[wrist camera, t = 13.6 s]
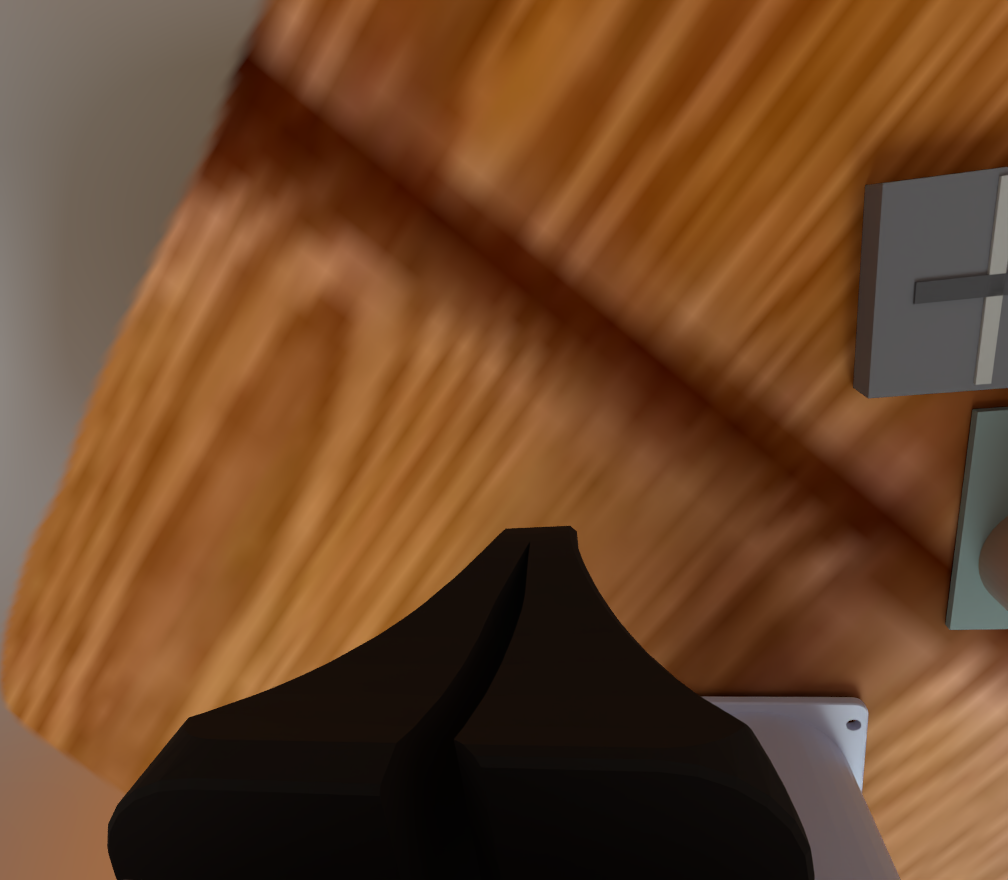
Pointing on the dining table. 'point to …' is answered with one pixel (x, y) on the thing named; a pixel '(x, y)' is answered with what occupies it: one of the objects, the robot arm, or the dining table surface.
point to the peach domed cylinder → (996, 563)
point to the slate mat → (979, 521)
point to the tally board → (934, 285)
